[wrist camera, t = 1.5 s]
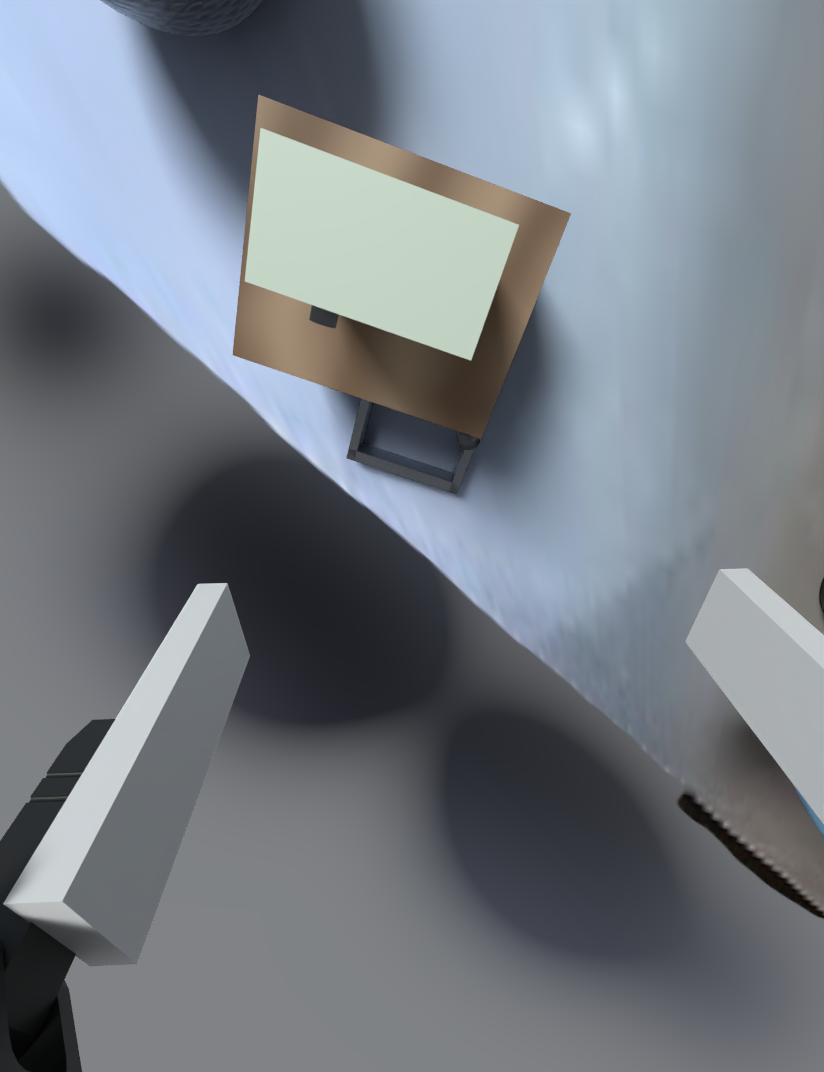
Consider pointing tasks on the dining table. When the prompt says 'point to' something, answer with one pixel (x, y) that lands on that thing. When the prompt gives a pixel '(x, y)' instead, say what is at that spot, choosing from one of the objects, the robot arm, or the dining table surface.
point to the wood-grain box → (380, 356)
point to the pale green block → (372, 247)
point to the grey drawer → (406, 465)
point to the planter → (186, 14)
